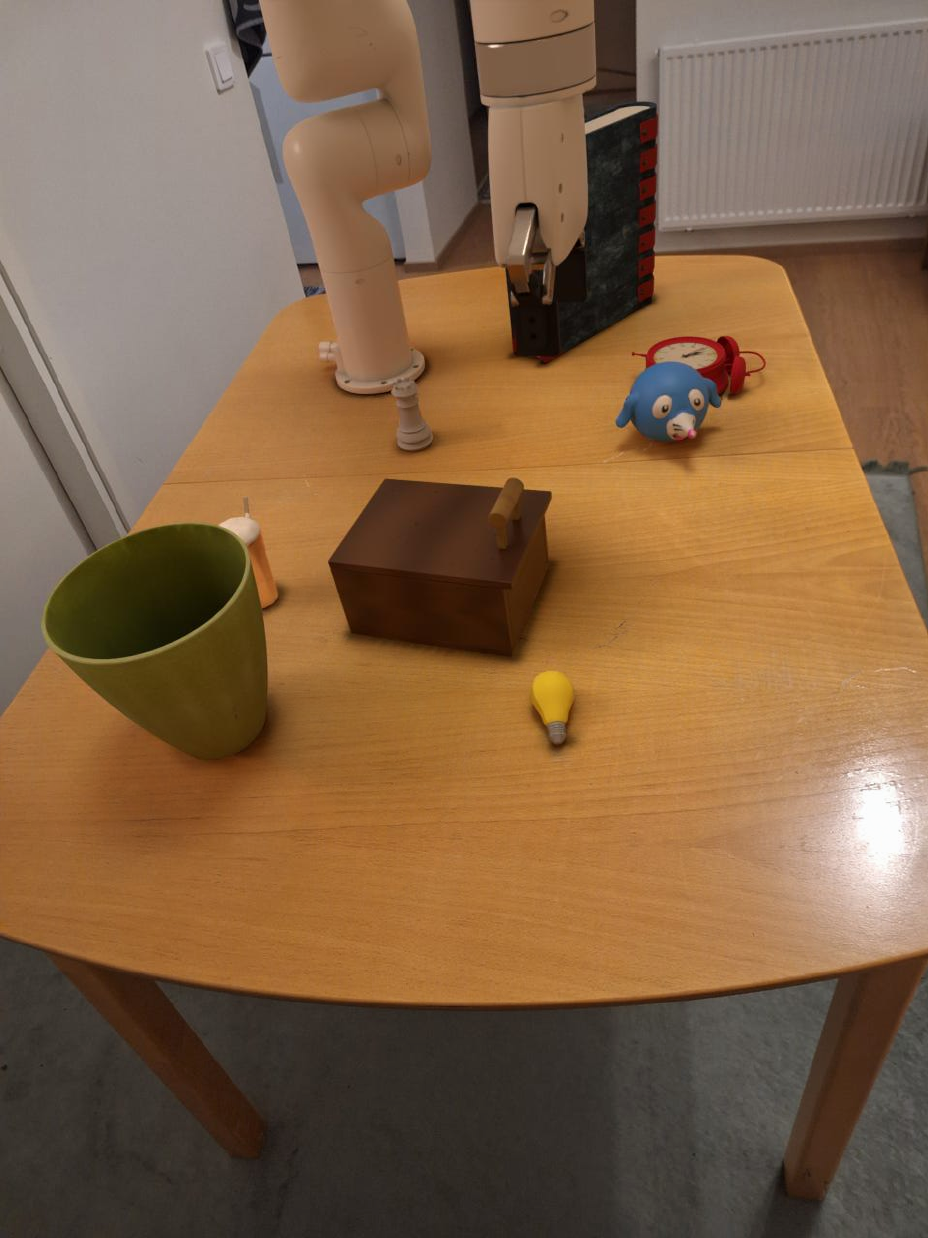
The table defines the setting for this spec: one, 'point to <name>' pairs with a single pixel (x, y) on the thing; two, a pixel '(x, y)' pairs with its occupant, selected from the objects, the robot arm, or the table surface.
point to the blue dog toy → (668, 402)
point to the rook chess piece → (410, 417)
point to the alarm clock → (705, 358)
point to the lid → (445, 532)
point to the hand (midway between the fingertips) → (554, 326)
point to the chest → (444, 606)
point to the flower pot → (169, 635)
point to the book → (613, 223)
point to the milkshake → (255, 554)
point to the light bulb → (553, 702)
